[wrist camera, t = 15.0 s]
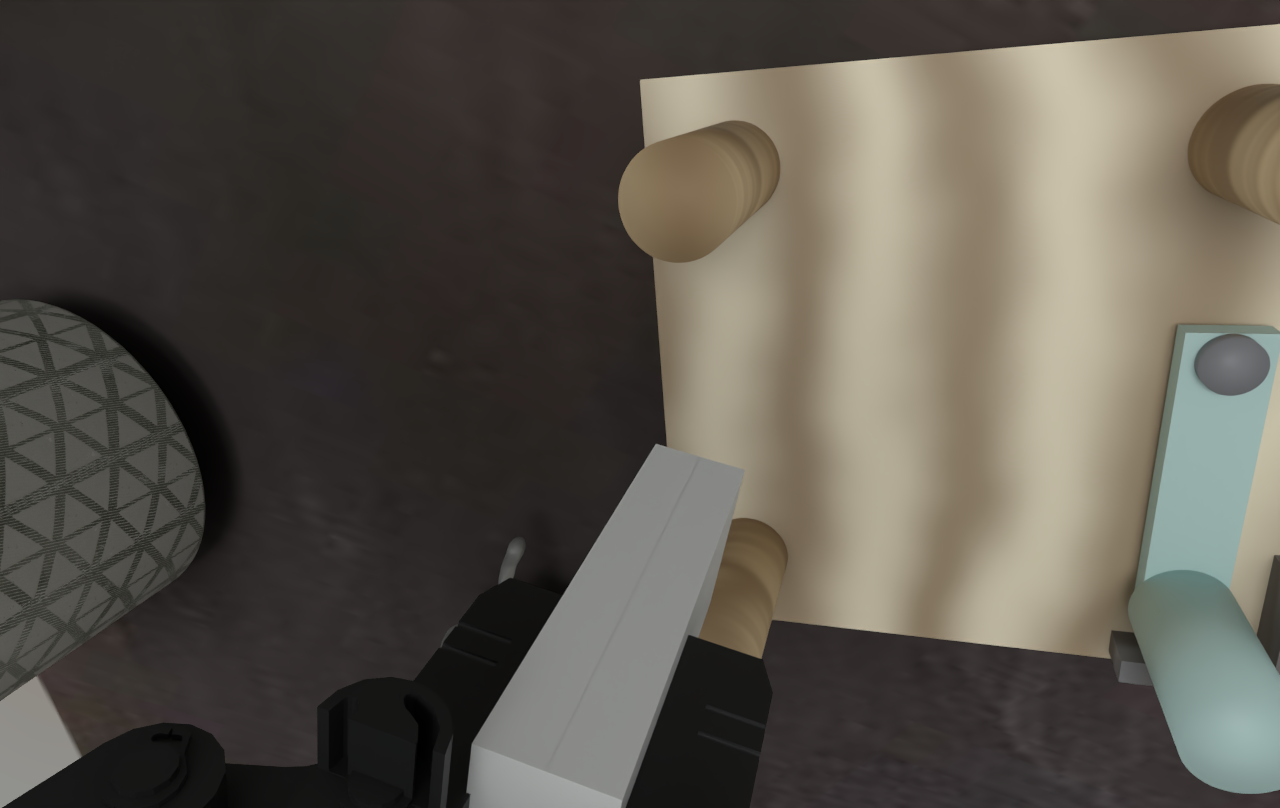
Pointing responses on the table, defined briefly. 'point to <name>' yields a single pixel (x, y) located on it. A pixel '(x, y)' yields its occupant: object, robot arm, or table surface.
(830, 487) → the stool
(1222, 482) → the hinged leg
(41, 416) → the planter
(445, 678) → the robot arm
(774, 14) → the table surface
